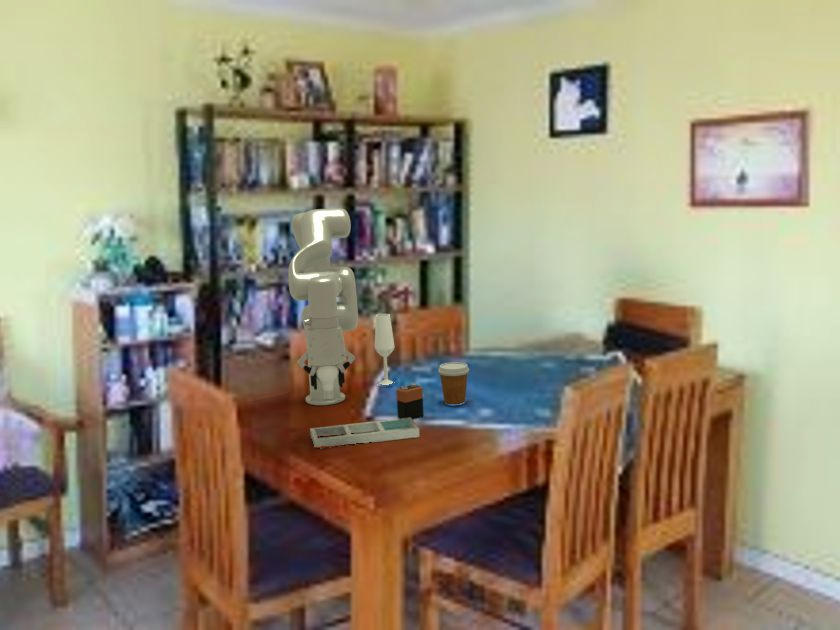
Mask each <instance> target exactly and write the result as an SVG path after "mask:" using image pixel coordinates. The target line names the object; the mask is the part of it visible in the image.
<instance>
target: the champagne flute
mask: <svg viewBox="0 0 840 630" xmlns="http://www.w3.org/2000/svg"><path fill="white" fill-rule="evenodd" d="M374 328H375V329H374V330H375V331H374V350H375V351H376V352H377V354H379V356H381V357H383V374H384V379H383V380H381V381H379V382H378V383H379V384H382V385H389V384H392V383H393V382H394V381H392V380H390V379H389V373H388V371H389V370H388V357H389V356H390V354H392V353H393V351H394V350H395V342H394V341H395V340H394V333H393V327H392V319H391V314H390V313H377V314H375V327H374Z"/></svg>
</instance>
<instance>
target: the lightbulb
mask: <svg viewBox="0 0 840 630" xmlns="http://www.w3.org/2000/svg"><path fill="white" fill-rule="evenodd" d="M315 374H316V377H317V379H318V380H319V382H320V383H321V385H322V388H323V393H324V398H325V399H327V400H331V399H332V398H333V396H334V395H333V388H334V383H335V381H336V379H337V378H338V375H339V367H338V366H337V365H328V366H317V368H316V371H315Z"/></svg>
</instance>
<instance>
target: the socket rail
mask: <svg viewBox="0 0 840 630" xmlns="http://www.w3.org/2000/svg"><path fill="white" fill-rule="evenodd" d="M309 431H310V440H311V439H312V440H311V442H312V441H313V443H312V445H313V444H314V446H313V448H314V447H321V446H334V445H344V444H355V445H357V444H356V443H364V444H370V443H369V442H372V443H379V442H388V441H397V440H406V439H412V438H413V439H414V438H420V427H419V425H417V423H416V422H415V421H414V419H412V418H411V417H409V418H394V419H385V420H376V421H366V422H365V421H364V422H358V423H357V422H356V423H348V424H339V425H330V426H320V427H311V428H309ZM351 433H354V434H351ZM341 434H344V435H341ZM328 435H337V436H328ZM318 436H328V437H319V438H318Z"/></svg>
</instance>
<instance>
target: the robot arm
mask: <svg viewBox="0 0 840 630" xmlns="http://www.w3.org/2000/svg"><path fill="white" fill-rule="evenodd" d="M350 218H351V217H350V215H349V213H348V211H347V210H346V209H345V208H338V207H336V208H335V207H334V208H318V209H317V208H315V209H310V210H308V211H306V212H299V213H297V214H295V215H294V216H293V217H292V218H291V230H292V234H293V236H294V239H295V242H296V243H297V245H298V247H299V250H298V251H297V252H296V253H295V255H294V256H293V258H292V259H291V260H290V263H289V264H288V265H289V266H288V289H289V293H290V296H291V297H292V299H294V300H296V301H300V302H301V301H308V304H307V305H305V307H303V309H302V312H301V321H302V323H303V324H302V325H303V329H304V334H305V342H306V351H305V352H304V353H303V354H302V355H301V357H300V358H298V360H297V362H296V363H297V365H298V366H299V367H300V368H302V369H303V371H305V372H306V373H308V381H309V394H308V395H307V396H306V397H305V402H306V403H307V404H309V405H312V406H331V405H335V404H339V403H341V402H343V401H345V399H346V395H345V394H344V393H343V392H342V391H341V389H340V388H343V387H344V385H343V384H345V383H346V382H345V372H346V370H347V369H348V368H349V367H350V366H351V364H352V363H353V362H354V361H355V359H356V357H355V355H354V354H353V353H351V352H350V351H349V350H348V349H347V348H346V345H345V339H344V338H345V337H344V332H350V331H354V330H356V329H357V327H358V326H359V325H358V324H359V311H358V308H359V307H358V297H357V285H356V278H355V273H354V272H353V270H352V269H351V268H350V267H349V266H348V267H347V266H331V256H332V253H333V243H332V240H333V239H344V238H347V237H348V236H349V235H350V233H351V228H352V227H351V226H352V225H351V219H350ZM337 298H341V299H342V301H339V300H338V299H337ZM346 359H347V360H346ZM306 360H307V364H306V363H305V362H306ZM328 365H337V366H338V369H339V375H338V378H337V379H336V381H335V383H334V388H333V395H334V396H333V398H332V399H331V400H327V399H325V398H324V393H323V388H322V385H321V383H320V382H319V380H318V379H317V377H316V374H315V371H316V368H317V366H328Z"/></svg>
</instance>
